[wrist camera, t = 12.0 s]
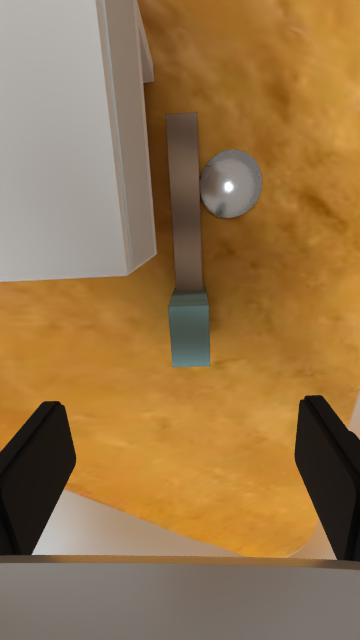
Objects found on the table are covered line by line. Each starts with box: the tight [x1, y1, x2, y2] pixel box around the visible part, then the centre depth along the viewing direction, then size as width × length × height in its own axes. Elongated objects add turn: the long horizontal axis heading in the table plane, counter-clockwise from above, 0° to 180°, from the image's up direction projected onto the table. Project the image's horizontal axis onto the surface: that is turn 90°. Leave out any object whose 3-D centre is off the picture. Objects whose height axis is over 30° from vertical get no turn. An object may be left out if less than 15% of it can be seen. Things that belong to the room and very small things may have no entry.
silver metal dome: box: [200, 150, 262, 218], centre depth 23 cm, size 5×5×2 cm
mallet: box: [166, 112, 210, 367], centre depth 22 cm, size 19×3×7 cm, turn 3°
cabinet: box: [0, 0, 157, 282], centre depth 17 cm, size 14×17×16 cm
